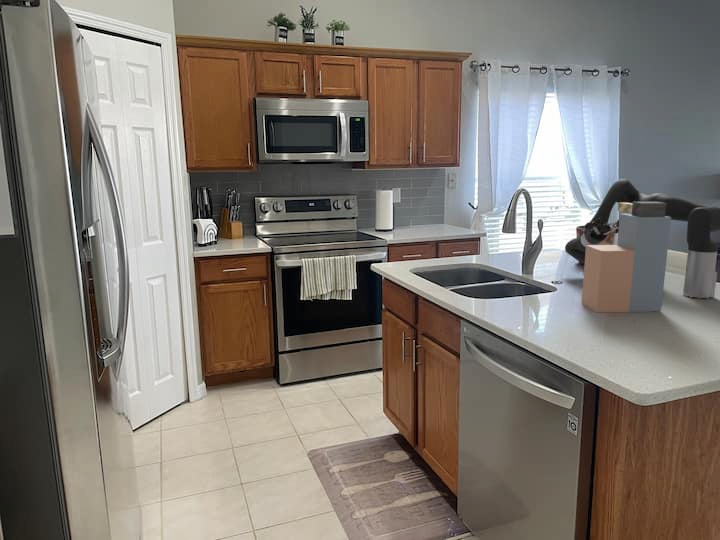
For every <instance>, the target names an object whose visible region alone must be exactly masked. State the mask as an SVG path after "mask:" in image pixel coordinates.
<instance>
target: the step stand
mask: <svg viewBox="0 0 720 540" xmlns="http://www.w3.org/2000/svg"><path fill="white" fill-rule="evenodd" d="M618 220H619V230H618V233H617V242H616V243H617V244H613V245H586V253H585V265H583V267H584V268H583V269H584V270H583V278H582V279H583V281H582V293H581V295H582V296H581V304H582V305H584V306H585V307H587V308H589V309H590V310H592V311H594V312H595V313H646V312H647V313H648V312H650V311H661V312H662V306H663V305H662V304H663V297H664V296H663V294H664V289H665V279H666V277H665V276H666V268H667V259H668V248H669V240H670V231H671V230H670V229H671V225H672V224H671V223H672V220H671V217H668V216H665V217H638V216H633V215H632V214H631V213H619V219H618ZM650 313H651V312H650Z"/></svg>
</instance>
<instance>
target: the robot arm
mask: <svg viewBox="0 0 720 540" xmlns="http://www.w3.org/2000/svg"><path fill="white" fill-rule="evenodd" d="M618 202H627V203H633V202H662V203H666V212H665V216H668V217H671V221H679V222H687V227H686V228H687V229H686V242H687V245H688V247H687V254H686V265H685V273H684V280H683V281H684V282H683V289H682V295H683V296H684V297H688V296H689V298H692V297H697V298H696V299H702V298H706V299H710V298H709V297H711V298H715V295H716V294H715V293H716V286H717V277H718V272H717V271H716V265H717V256H718V250H719V245H718V243H716V242H714V241H712V239H711V233H715V232H718V231H720V207H718V206H711V205H706V204H705V205H704V204H699V203H696V202H693V201H689V200H686V199H683V198H680V197H676V196H673V195H671V194H667V193H664V192H663V193H662V192H656V193H652V194H650V195H649V194H645V193H643V192H641V191H639V190H638V189H637V188H636V187H635V186H634V185H633V184H632V183H631V181H630V180H628V179H626V178H620V179H618V180H617V181H615V182H614V183H612V185H611V187H609V190H607V193H606V194H605V197H603V200H602V201H601V204H600V205H599V208H598V209H597V211H596V212H595V214H594V216H593V217H592V218H591V220H590V221H589V222H586V223H585V226H584V225H583V226H584V227H583V231H582V233H581V237H578V238H577V237H575V238H572V239H570V240H568V242H567V243H566V244H565V246H564V250H565V252H566V254H567V255H570V256H571V257H572V258H573V259H575V260H576V261H577V262H578V261H579V262H583V261H585V253H586V245H599V244H600V243H601V242H602V241H603V240H604V239H606V237H607V235H608V233H611V232H615V235H616V234H617V235H618V230H619V219H617V221H615V222H612V221H611V222H609V221H610V216H611V212H612V210H613V209H614V206H615V205H616V203H617V204H618ZM611 228H612V229H611ZM579 262H578V263H579Z"/></svg>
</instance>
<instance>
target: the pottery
mask: <svg viewBox="0 0 720 540" xmlns="http://www.w3.org/2000/svg"><path fill="white" fill-rule="evenodd" d="M585 225H586V224H585ZM585 225H579V226H578V225H577V226H576V229H575V230H576V231H575V232H576V234H575V235H576V238H578V237H581V233H582V231H583V227H584V226H585ZM611 229H612V228H611ZM615 236H616V234H615V232H611V233H608V235H607V237H606V239H604V240H603V241H602V242H601V243H600V244H599V245H615V244H614V242H615ZM577 262H578V263H579V264H580V265H582V266H585V261H583V262H579V261H578V260H577Z"/></svg>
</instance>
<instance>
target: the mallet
mask: <svg viewBox="0 0 720 540" xmlns="http://www.w3.org/2000/svg"><path fill="white" fill-rule="evenodd" d="M617 211H618V212H623V213H625V214H632V215H633V216H638V217H665V212H666V203H662V202H633V203H627V202H618V203H617Z"/></svg>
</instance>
